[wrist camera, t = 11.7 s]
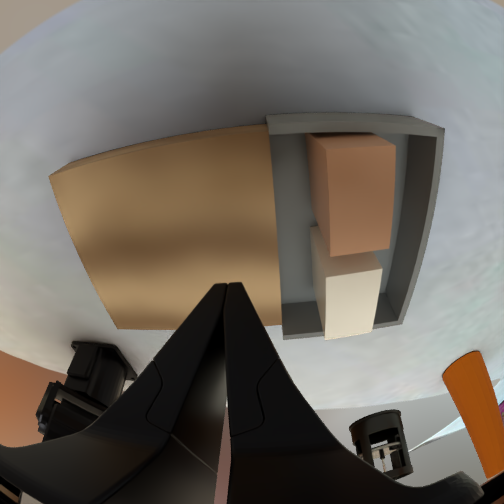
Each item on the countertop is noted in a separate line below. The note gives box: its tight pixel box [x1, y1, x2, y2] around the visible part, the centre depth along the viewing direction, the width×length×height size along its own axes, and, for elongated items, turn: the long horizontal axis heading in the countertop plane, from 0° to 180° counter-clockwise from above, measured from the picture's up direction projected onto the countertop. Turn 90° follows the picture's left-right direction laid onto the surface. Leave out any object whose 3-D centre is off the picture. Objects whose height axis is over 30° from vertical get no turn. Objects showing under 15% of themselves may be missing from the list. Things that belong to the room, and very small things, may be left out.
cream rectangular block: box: [310, 226, 382, 340], centre depth 17 cm, size 5×5×3 cm
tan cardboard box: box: [305, 132, 396, 257], centre depth 13 cm, size 5×5×3 cm
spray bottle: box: [443, 351, 504, 481], centre depth 18 cm, size 7×11×26 cm, turn 178°
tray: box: [266, 112, 445, 340], centre depth 16 cm, size 14×9×4 cm, turn 6°
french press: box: [349, 410, 413, 480], centre depth 29 cm, size 12×9×23 cm
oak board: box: [49, 124, 282, 330], centre depth 17 cm, size 13×13×2 cm
